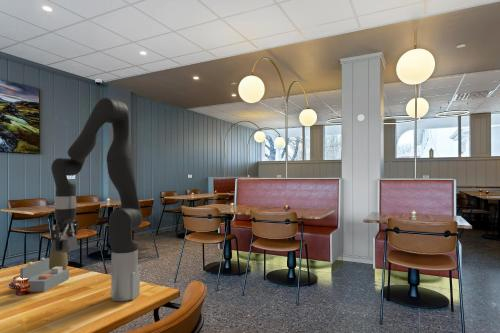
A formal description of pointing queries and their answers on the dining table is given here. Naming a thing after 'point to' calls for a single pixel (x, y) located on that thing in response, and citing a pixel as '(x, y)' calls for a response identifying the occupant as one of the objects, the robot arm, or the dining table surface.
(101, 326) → the dining table surface
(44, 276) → the breaker button
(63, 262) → the squeeze bottle
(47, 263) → the breaker box
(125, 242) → the robot arm
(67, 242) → the grey square block
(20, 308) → the dining table surface
